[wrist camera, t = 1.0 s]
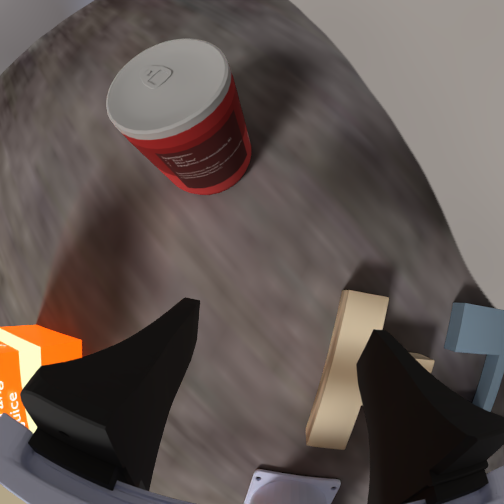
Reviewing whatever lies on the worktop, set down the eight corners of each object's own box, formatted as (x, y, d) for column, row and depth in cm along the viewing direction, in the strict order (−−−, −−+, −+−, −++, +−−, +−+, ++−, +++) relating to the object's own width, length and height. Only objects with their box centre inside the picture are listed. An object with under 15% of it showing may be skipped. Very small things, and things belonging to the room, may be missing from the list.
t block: (391, 437, 19) (401, 452, 16) (305, 428, 21) (306, 445, 18) (429, 306, 21) (446, 307, 18) (342, 290, 22) (349, 289, 19)
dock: (466, 439, 18) (475, 447, 16) (411, 443, 19) (419, 452, 17) (504, 311, 19) (516, 312, 17) (453, 302, 20) (465, 302, 18)
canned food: (191, 112, 26) (148, 34, 15) (267, 135, 24) (253, 45, 13) (152, 180, 25) (82, 121, 14) (229, 211, 24) (186, 150, 13)
